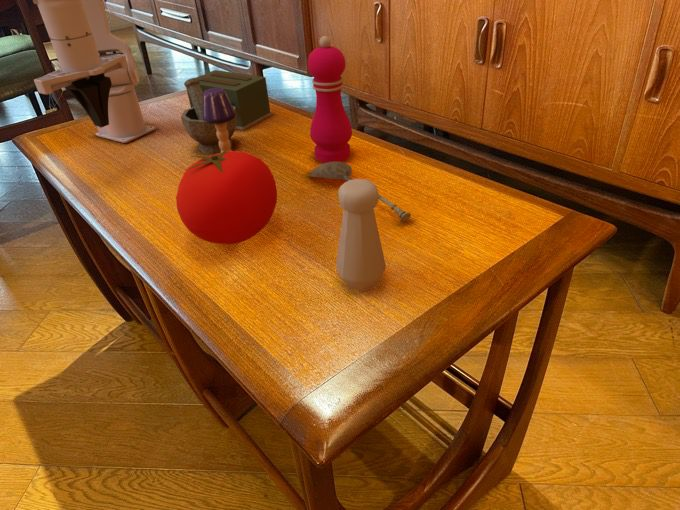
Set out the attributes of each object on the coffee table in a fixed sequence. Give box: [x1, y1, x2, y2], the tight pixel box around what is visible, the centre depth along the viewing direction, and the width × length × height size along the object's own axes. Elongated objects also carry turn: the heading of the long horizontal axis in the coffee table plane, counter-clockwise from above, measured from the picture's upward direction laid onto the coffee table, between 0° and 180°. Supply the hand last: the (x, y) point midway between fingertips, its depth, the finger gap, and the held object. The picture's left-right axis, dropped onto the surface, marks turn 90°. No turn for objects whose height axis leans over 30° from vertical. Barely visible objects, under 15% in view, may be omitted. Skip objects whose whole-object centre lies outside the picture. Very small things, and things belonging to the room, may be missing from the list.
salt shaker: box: [335, 178, 387, 293], centre depth 57 cm, size 6×6×13 cm
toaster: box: [185, 69, 273, 131], centre depth 105 cm, size 14×11×8 cm
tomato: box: [175, 149, 278, 245], centre depth 67 cm, size 12×14×11 cm
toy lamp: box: [203, 88, 236, 153], centre depth 74 cm, size 5×5×17 cm
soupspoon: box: [308, 161, 412, 224], centre depth 77 cm, size 22×3×7 cm
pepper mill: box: [307, 35, 353, 164], centre depth 83 cm, size 7×7×20 cm
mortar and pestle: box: [180, 77, 237, 155], centre depth 92 cm, size 11×9×12 cm
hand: (102, 125), depth 82 cm, fingers closed
